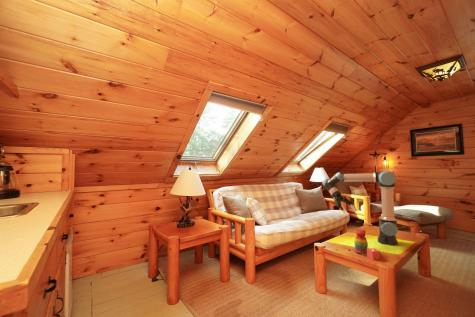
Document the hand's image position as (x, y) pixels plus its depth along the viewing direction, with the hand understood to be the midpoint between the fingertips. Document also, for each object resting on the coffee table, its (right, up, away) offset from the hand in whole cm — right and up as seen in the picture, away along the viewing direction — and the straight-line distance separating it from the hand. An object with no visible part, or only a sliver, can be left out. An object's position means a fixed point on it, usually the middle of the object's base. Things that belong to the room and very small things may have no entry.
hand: (350, 212), depth 192 cm
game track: (+5, -29, -14) cm, 33 cm away
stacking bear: (+1, -28, -15) cm, 32 cm away
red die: (+4, -28, -26) cm, 39 cm away
